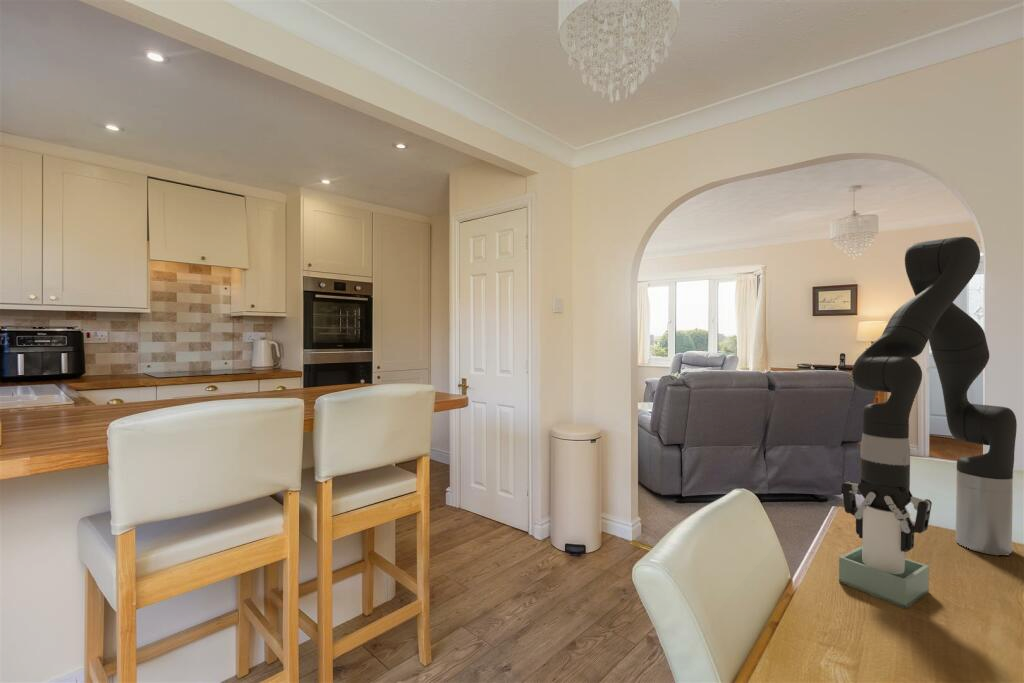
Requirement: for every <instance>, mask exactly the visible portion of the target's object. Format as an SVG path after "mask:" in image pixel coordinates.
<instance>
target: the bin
mask: <svg viewBox="0 0 1024 683" xmlns="http://www.w3.org/2000/svg"><path fill="white" fill-rule="evenodd" d="M838 565H839V566H838V582H839V581H840V582H842V583H844V584H843V585H845V584H846V585H845V586H847V585H848V587H850V588H853V589H855V590H859V591H860V592H862V593H865V594H867V593H868V595H871V596H873V597H875V596H876V597H875V598H878V599H880V598H881V599H880V600H882V601H885V600H886V601H885V602H887V603H890V604H893V605H896V606H898V607H900V608H903V609H908V608H909V607H911V606H912V605H913V604H914V603H916V602H917V601H919V600H920V599H921V598H923V597H924V596H926V595H927V594H928V593H929V591H930V590H929V588H930V580H929V579H930V566H929V565H926V564H923V563H921V562H917V561H915V560H912V559H908V558H905V570H904V573H902V574H901V575H892V574H889V573H886V572H883V571H881V570H878V569H875V568H872V567H869V566H867V565H865V564H864V563H863V561H862V545H860V546H858V547H856V548H855V549H854V548H853V550H850V551H848V552H846V553H844V554H843V555H840V556H838ZM840 582H839V583H840ZM842 583H841V584H842Z"/></svg>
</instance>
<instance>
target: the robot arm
mask: <svg viewBox="0 0 1024 683" xmlns="http://www.w3.org/2000/svg"><path fill="white" fill-rule="evenodd" d="M980 251H981V250H980V247H979V245H978V243H977V241H975V239H974V238H971V237H968V236H959V237H958V236H957V237H948V238H943V239H942V238H941V239H933V240H925V241H921V242H917V243H916V242H914V243H912V244H911V245H909V247H907V249H906V251H905V254H904V267H905V271H906V276H907V278H908V281H909V283H910V286H911V289H912V291H913V294H914V295H915V296H913V298H910V299H909V300H907V301H906V302H905V303H904V304H902V305H901V306H899V308H898V309H897V310H896V311H894V313H893V315H892V316H890V319H889V321H888V322H887V324H886V326H885V328H884V330H883V332H882V334H881V336H880V337H878V338H877V339H876V340H874V342H873V343H872V344H871V345H870V346H868V348H866V349H865V350H864V351H863V352H862V353H861V354H860V355H859V356H858V357H857V359H856V360H855V362H854V364H853V366H852V370H851V371H852V372H851V377H852V381H853V383H854V384H855V385H856V386H857V387H858V388H860V389H862V390H865V391H872V392H880V393H881V392H882V393H883V392H884V393H890V395H889V397H888V399H887V400H886V401H885V402H877V403H876V402H875V403H870V404H869V403H868V404H866V405H865V406H864V407H863V410H862V436H861V442H860V448H859V449H860V450H859V454H860V469H859V470H860V471H859V472H860V474H859V475H860V481H859V483H854V482H852V481H846V482H843V483H842V484H841V491H842V498H843V508H844V511H845V513H847V514H851V515H852V516H854V518H855V533H856V535H858V538H860V539H862V538H863V510H865V509H866V508H867V505H868V506H874V507H876V508H881V509H883V510H887V511H893V512H894V516H895V518H896V519H897V520H899V521H900V526H901V528H902V530H903V531H902V532H901V551H903V552H905V553H908V552H909V551H911V550H913V549H914V547H915V533H917V534H922V533H924V532H925V531H927V530H928V528H929V527H928V526H929V522H930V516H931V511H932V505H933V502H932V501H931V500H930V499H928V498H926V499H925V498H924V499H922V498H919V497H915V496H913V494H912V493H911V491H910V490H911V488H910V486H911V485H910V484H911V478H910V477H911V448H910V447H911V446H910V440H909V439H910V438H909V437H910V436H909V435H910V433H909V431H910V424H909V423H910V416H911V415H910V414H911V411H912V408H913V405H914V401H915V399H916V396H917V393H918V391H919V389H920V387H921V383H922V380H923V370H922V367H921V366H920V364H919V363H918V362H917V360H916V359H914V358H916V357H918V356H919V355H921V354H922V352H923V351H924V349H925V347H926V345H927V344H928V343H929V346H930V351H931V354H932V358H933V361H934V363H935V367H936V370H937V374H938V378H939V381H940V385H941V389H942V396H943V402H944V407H945V416H946V420H947V426H948V430H949V432H950V434H951V436H952V437H953V438H954V439H956V440H958V441H960V442H961V441H962V442H966V443H971V444H975V445H976V444H977V445H984V446H989V447H988V448H989V449H988V452H986V453H983V454H980V455H971V456H970V455H969V456H962V457H959V458H958V459H957V461H956V487H955V488H956V496H955V498H956V500H955V501H956V504H955V505H956V507H955V508H956V509H955V511H956V512H955V542H956V543H957V544H958V543H959V544H958V545H960V546H961V545H962V546H961V547H963V546H964V548H966V547H967V548H966V549H968V548H969V550H971V551H975V552H978V553H983V554H988V555H993V556H999V555H1006V554H1011V553H1013V552H1012V551H1013V549H1012V547H1013V507H1014V506H1013V502H1014V500H1013V497H1014V496H1013V494H1014V491H1013V487H1014V486H1013V483H1014V480H1013V478H1014V465H1015V449H1016V438H1017V430H1018V429H1017V427H1018V426H1017V425H1018V424H1017V417H1016V415H1015V412H1014V411H1013V410H1012V409H1011V408H1009V407H1006V406H998V405H987V404H979V403H977V404H976V403H971V402H970V401H969V399H968V391H969V389H970V387H971V385H973V383H974V382H975V380H976V379H977V378H978V377H979V375H980V374H981V373H982V371H983V370H984V369H985V368H986V367H987V365H988V362H989V360H990V350H989V347H988V346H989V345H988V342H987V337H986V334H985V331H984V329H983V327H982V326H981V325H980V324H979V322H977V321H976V320H975V319H974V318H973V317H972V316H970V315H969V314H968V313H966V312H965V311H964V310H963V309H962V308H960V307H959V306H957V304H955V303H954V301H956V299H957V298H958V297H959V296H960V294H961V293H962V292H963V291H964V289H965V288H966V287H967V285H968V284H969V283H970V282H971V280H972V279H973V278H974V277H975V274H976V272H977V271H978V269H979V265H980V262H981V252H980ZM858 491H859V492H860V494H861V496H862V497H863V499H864V500H863V501H862V502H861V503H860V505H859V507H857V499H856V494H857V493H858ZM910 503H911V504H912V505H913V509H914V510H916V516H915V521H914V523H913V521H912V519H911V515H910V512H909V510H908V508H907V506H908V505H909V504H910ZM901 510H902V513H903V514H901V512H900V511H901ZM1011 555H1012V554H1011Z"/></svg>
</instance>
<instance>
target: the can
mask: <svg viewBox="0 0 1024 683" xmlns="http://www.w3.org/2000/svg"><path fill="white" fill-rule="evenodd" d="M900 512H901V514H903V513H902V510H901V511H900ZM902 531H903V530H902V528H901V526H900V521H899V520H897V519H896V518H895V516H894V512H893V511H887V510H883V509H881V508H876V507H874V506H868V505H867V508H866V509H865V510H863V538H861V539H862V544H861V546H862V561H863V563H864V564H865V565H867V566H869V567H872V568H875V569H878V570H881V571H883V572H886V573H889V574H892V575H901V574H902V573H904V570H905V557H906V552H903V551H901V532H902Z"/></svg>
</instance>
